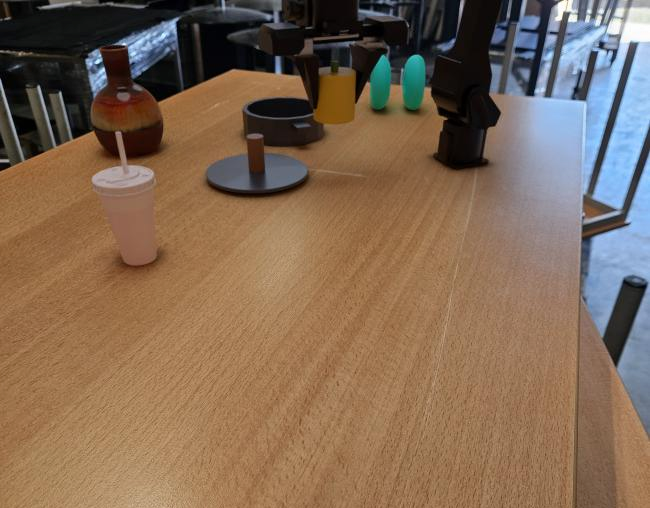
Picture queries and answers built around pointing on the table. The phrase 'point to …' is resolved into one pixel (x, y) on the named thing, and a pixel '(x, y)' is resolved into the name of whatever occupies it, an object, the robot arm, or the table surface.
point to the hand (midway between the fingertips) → (334, 105)
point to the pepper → (335, 95)
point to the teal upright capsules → (410, 87)
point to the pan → (282, 121)
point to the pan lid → (256, 170)
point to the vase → (125, 108)
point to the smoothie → (129, 208)
